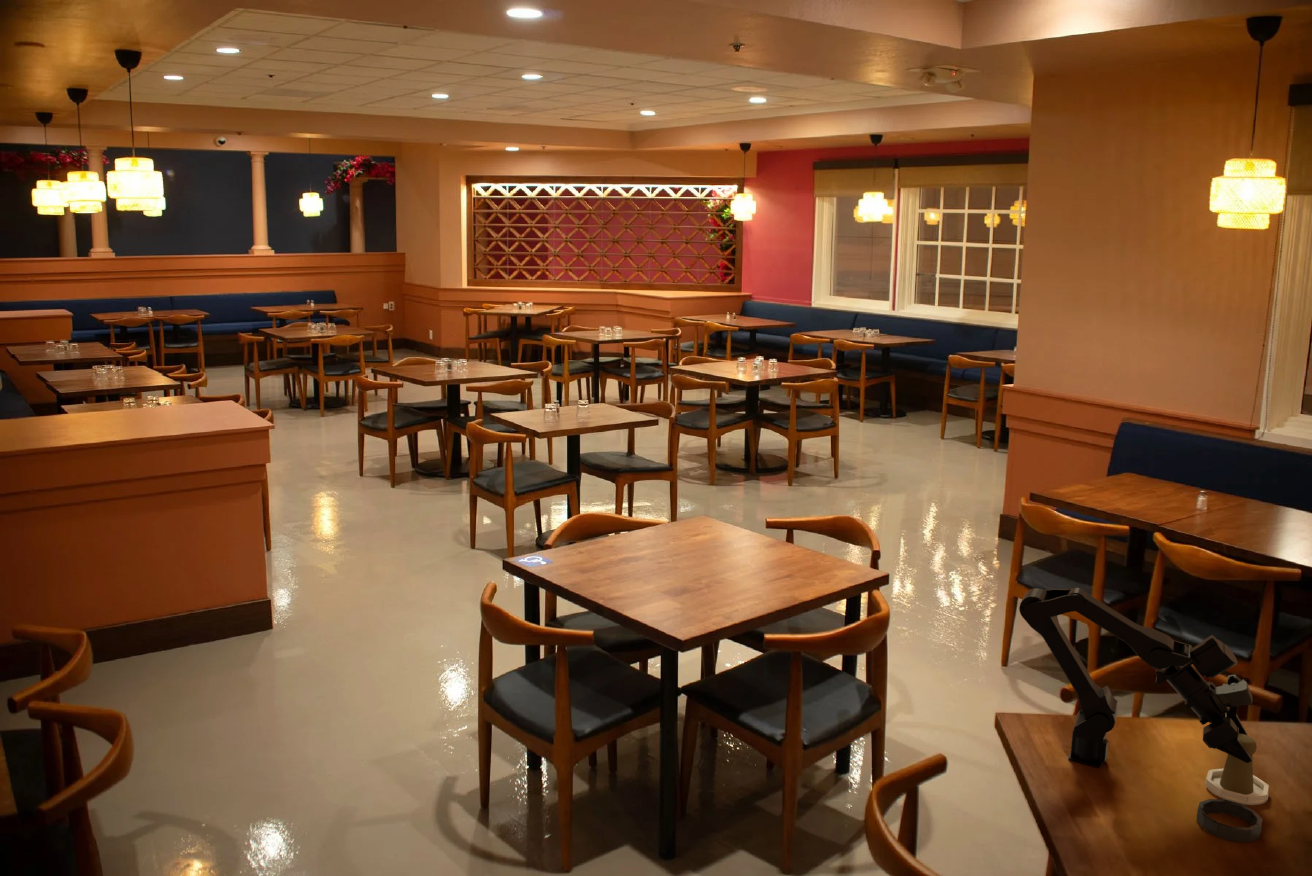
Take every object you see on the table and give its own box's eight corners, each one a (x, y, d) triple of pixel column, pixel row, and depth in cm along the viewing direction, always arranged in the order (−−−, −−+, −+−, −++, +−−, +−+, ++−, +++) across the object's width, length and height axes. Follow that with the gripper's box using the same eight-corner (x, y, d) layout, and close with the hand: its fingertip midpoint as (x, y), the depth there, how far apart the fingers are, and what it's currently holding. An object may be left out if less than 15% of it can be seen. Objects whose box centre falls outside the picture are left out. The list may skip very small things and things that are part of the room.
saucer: (1202, 794, 210) (1202, 786, 210) (1208, 770, 220) (1209, 762, 219) (1266, 811, 204) (1267, 802, 204) (1270, 786, 214) (1271, 778, 213)
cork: (1260, 791, 210) (1267, 741, 208) (1237, 796, 208) (1243, 745, 206) (1235, 777, 216) (1241, 727, 213) (1212, 781, 214) (1218, 732, 211)
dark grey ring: (1193, 830, 198) (1195, 818, 197) (1200, 804, 207) (1202, 793, 206) (1257, 848, 192) (1259, 836, 192) (1262, 821, 201) (1263, 809, 200)
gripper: (1229, 685, 201) (1288, 752, 198) (1227, 651, 217) (1283, 712, 214) (1179, 715, 206) (1236, 780, 203) (1181, 679, 222) (1234, 739, 219)
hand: (1249, 751), depth 210 cm, fingers open, 9 cm apart
